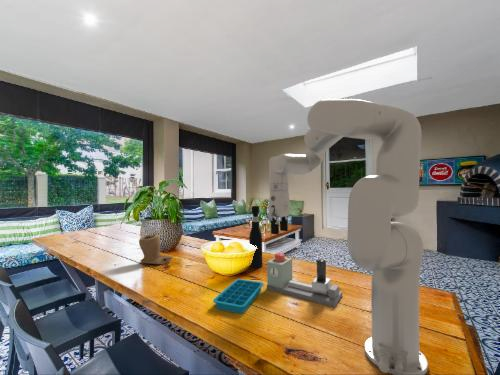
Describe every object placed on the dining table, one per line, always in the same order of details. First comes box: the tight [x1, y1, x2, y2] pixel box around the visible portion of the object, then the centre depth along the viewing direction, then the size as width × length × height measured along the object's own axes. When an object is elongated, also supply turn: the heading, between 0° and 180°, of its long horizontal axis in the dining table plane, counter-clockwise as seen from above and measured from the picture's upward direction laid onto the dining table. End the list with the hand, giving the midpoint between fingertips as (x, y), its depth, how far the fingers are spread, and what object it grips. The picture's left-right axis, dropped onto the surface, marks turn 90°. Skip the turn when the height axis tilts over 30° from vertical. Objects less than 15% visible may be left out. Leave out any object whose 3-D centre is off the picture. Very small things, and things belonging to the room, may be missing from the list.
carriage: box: [311, 258, 332, 295], centre depth 87 cm, size 6×5×11 cm
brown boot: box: [138, 233, 173, 265], centre depth 128 cm, size 15×12×15 cm
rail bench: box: [266, 256, 343, 308], centre depth 91 cm, size 10×26×10 cm, turn 56°
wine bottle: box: [248, 205, 263, 269], centre depth 121 cm, size 6×6×30 cm
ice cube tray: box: [212, 278, 264, 314], centre depth 87 cm, size 12×20×3 cm, turn 158°
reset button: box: [274, 253, 286, 263], centre depth 97 cm, size 4×4×6 cm
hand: (279, 232), depth 97 cm, fingers open, 7 cm apart
